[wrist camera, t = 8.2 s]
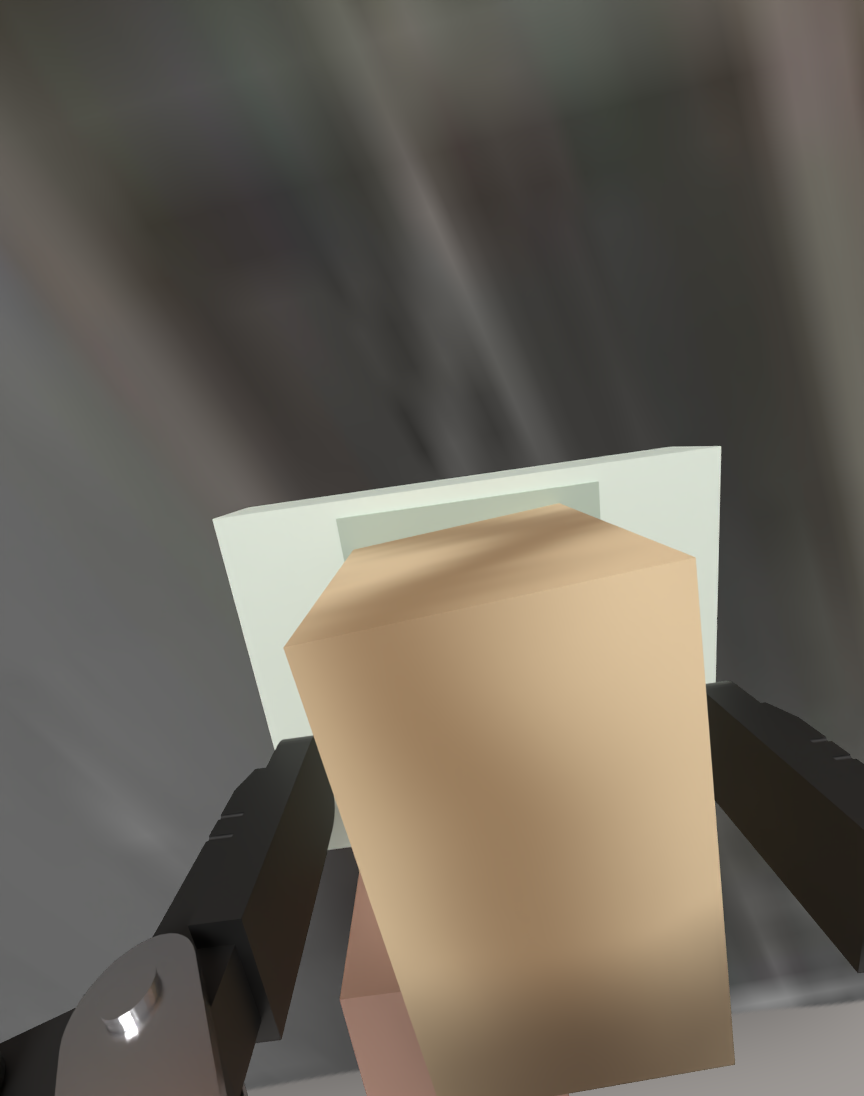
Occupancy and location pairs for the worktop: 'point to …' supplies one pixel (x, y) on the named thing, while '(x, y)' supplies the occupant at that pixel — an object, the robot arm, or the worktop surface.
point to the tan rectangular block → (529, 796)
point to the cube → (379, 1012)
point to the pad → (404, 511)
